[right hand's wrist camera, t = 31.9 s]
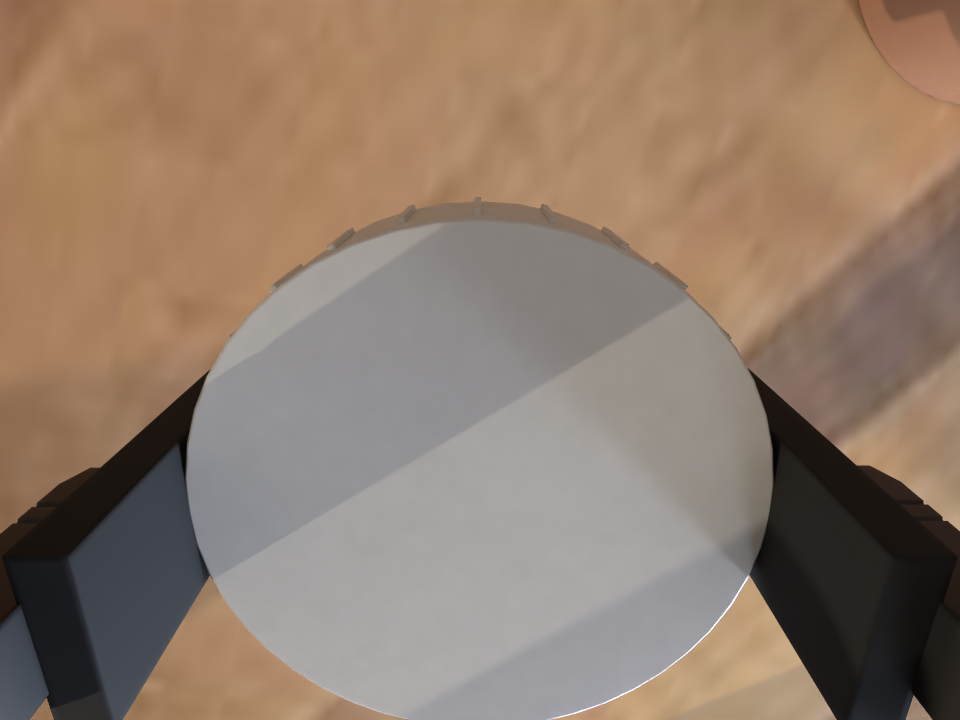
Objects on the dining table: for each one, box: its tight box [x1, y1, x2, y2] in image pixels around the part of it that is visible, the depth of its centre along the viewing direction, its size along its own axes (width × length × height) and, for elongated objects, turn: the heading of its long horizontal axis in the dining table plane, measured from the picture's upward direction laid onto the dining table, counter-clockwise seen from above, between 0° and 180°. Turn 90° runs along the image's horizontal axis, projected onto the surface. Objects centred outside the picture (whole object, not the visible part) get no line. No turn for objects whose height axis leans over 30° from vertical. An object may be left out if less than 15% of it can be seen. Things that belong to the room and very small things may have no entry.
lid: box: [185, 197, 774, 720], centre depth 11 cm, size 10×10×2 cm
